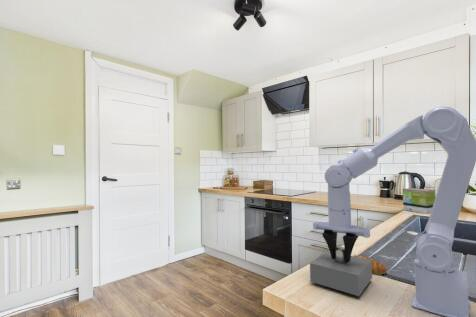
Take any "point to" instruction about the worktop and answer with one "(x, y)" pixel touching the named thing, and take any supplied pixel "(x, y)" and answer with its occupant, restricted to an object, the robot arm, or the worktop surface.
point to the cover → (341, 272)
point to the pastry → (376, 266)
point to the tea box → (418, 200)
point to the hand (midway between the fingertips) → (340, 259)
